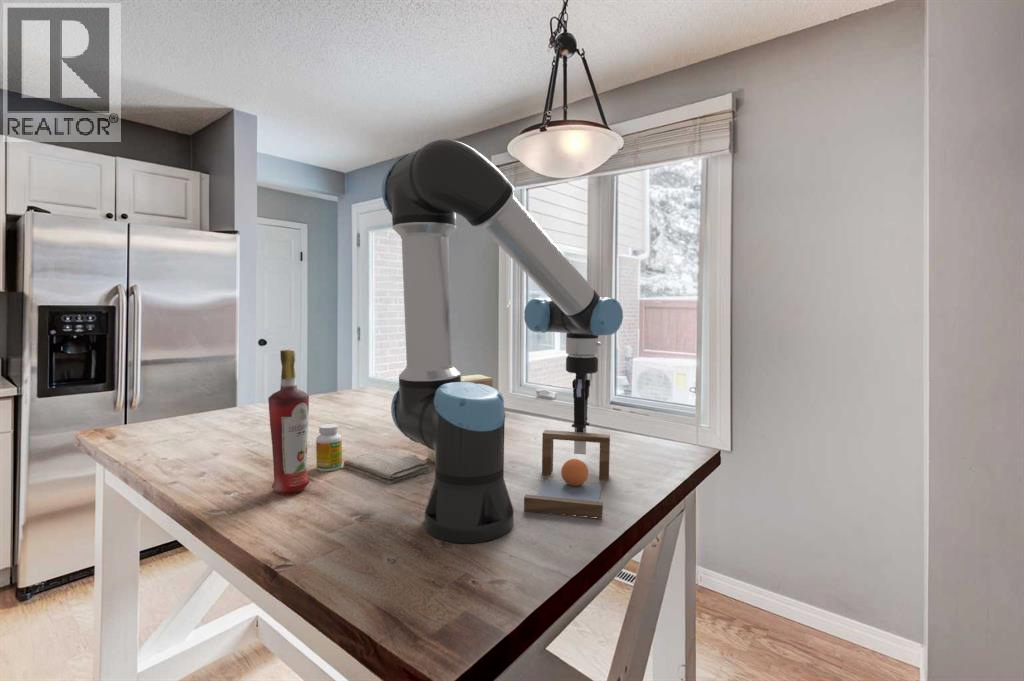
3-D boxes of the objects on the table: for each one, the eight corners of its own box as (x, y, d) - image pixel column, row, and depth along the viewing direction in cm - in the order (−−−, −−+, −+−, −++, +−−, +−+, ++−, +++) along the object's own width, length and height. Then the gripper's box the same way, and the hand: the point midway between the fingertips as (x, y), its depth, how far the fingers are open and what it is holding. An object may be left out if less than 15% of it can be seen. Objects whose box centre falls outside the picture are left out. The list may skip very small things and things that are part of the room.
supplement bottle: (332, 472, 109) (332, 429, 108) (311, 470, 110) (310, 427, 109) (346, 465, 114) (346, 423, 113) (326, 463, 115) (325, 422, 115)
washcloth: (392, 488, 102) (392, 473, 102) (340, 470, 113) (340, 456, 112) (434, 472, 111) (434, 459, 111) (382, 457, 122) (382, 445, 122)
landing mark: (597, 509, 91) (597, 508, 91) (533, 502, 94) (533, 501, 94) (601, 486, 102) (601, 485, 102) (544, 480, 105) (544, 479, 105)
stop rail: (602, 519, 86) (602, 505, 86) (523, 510, 90) (524, 497, 90) (602, 515, 88) (602, 502, 88) (525, 507, 91) (525, 494, 91)
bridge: (608, 479, 106) (609, 437, 105) (541, 473, 109) (542, 433, 109) (609, 475, 109) (610, 434, 108) (544, 469, 112) (544, 429, 112)
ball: (586, 491, 99) (587, 465, 99) (559, 489, 101) (559, 463, 100) (588, 481, 105) (589, 456, 104) (563, 479, 106) (563, 454, 105)
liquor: (294, 481, 103) (291, 348, 101) (318, 487, 100) (316, 350, 98) (262, 493, 97) (258, 351, 95) (287, 500, 94) (284, 353, 91)
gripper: (596, 359, 110) (593, 462, 112) (599, 353, 123) (597, 446, 124) (562, 357, 112) (560, 460, 113) (569, 352, 124) (567, 444, 126)
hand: (580, 453), depth 119 cm, fingers closed
